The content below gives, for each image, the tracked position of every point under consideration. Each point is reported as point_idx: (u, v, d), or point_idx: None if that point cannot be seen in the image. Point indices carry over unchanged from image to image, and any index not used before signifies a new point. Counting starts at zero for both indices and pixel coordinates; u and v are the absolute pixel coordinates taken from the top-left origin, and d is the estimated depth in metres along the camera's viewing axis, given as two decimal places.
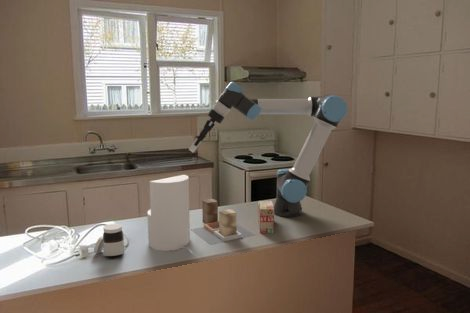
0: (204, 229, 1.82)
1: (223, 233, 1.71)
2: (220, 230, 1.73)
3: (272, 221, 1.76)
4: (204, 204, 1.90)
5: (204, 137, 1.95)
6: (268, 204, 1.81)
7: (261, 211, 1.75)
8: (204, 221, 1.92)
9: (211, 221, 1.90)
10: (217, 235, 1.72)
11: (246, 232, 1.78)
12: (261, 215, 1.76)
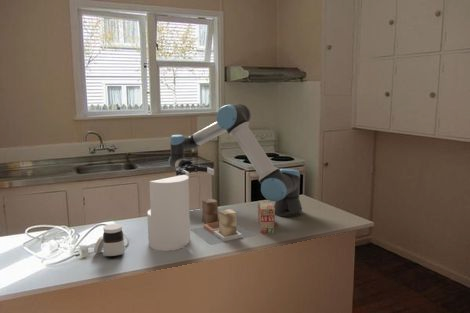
0: (204, 229, 1.82)
1: (223, 233, 1.71)
2: (220, 230, 1.73)
3: (273, 221, 1.77)
4: (204, 204, 1.90)
5: (208, 166, 2.06)
6: (268, 204, 1.82)
7: (262, 211, 1.76)
8: (204, 221, 1.92)
9: (211, 221, 1.90)
10: (217, 235, 1.72)
11: (246, 232, 1.78)
12: (262, 215, 1.76)
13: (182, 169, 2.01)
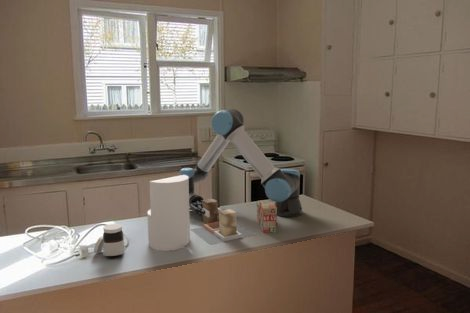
0: (204, 229, 1.82)
1: (223, 233, 1.71)
2: (220, 230, 1.73)
3: (275, 220, 1.78)
4: (204, 204, 1.90)
5: None
6: (269, 203, 1.83)
7: (264, 210, 1.76)
8: (204, 221, 1.92)
9: (211, 221, 1.90)
10: (217, 235, 1.72)
11: (246, 232, 1.78)
12: (264, 214, 1.77)
13: (200, 207, 1.94)
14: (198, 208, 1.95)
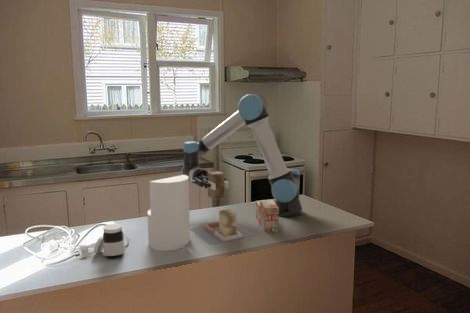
0: (204, 229, 1.82)
1: (223, 233, 1.71)
2: (220, 230, 1.73)
3: (277, 219, 1.78)
4: (210, 176, 1.78)
5: None
6: (270, 203, 1.83)
7: (266, 210, 1.77)
8: (209, 195, 1.79)
9: (217, 194, 1.77)
10: (217, 235, 1.72)
11: (246, 232, 1.78)
12: (266, 214, 1.77)
13: (205, 180, 1.81)
14: (203, 181, 1.82)
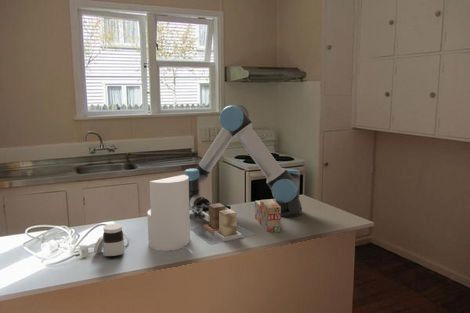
0: (204, 229, 1.82)
1: (223, 233, 1.71)
2: (220, 230, 1.73)
3: (279, 219, 1.79)
4: (211, 209, 1.80)
5: (226, 206, 1.87)
6: (272, 202, 1.84)
7: (269, 210, 1.77)
8: None
9: (218, 227, 1.80)
10: (217, 235, 1.72)
11: (246, 232, 1.78)
12: (268, 213, 1.78)
13: (200, 210, 1.83)
14: None
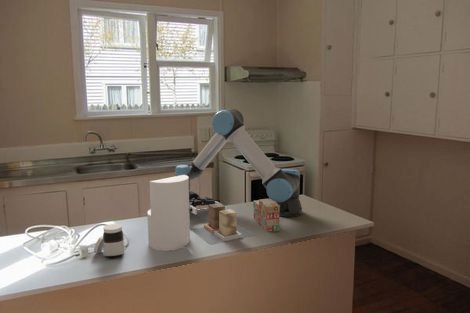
0: (204, 229, 1.82)
1: (223, 233, 1.71)
2: (220, 230, 1.73)
3: (278, 217, 1.80)
4: (211, 209, 1.80)
5: (216, 200, 1.97)
6: (270, 201, 1.85)
7: (267, 208, 1.78)
8: None
9: (218, 227, 1.80)
10: (217, 235, 1.72)
11: (246, 232, 1.78)
12: (267, 212, 1.78)
13: (189, 204, 1.92)
14: None
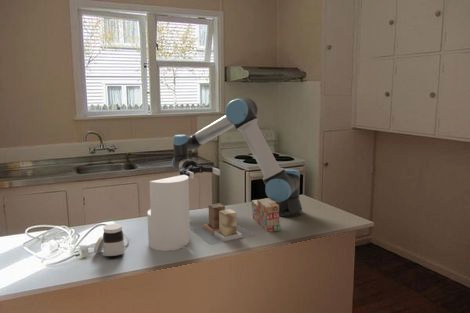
0: (204, 229, 1.82)
1: (223, 233, 1.71)
2: (220, 230, 1.73)
3: (278, 217, 1.80)
4: (211, 209, 1.80)
5: (213, 166, 1.96)
6: (269, 201, 1.84)
7: (267, 209, 1.78)
8: None
9: (218, 227, 1.80)
10: (217, 235, 1.72)
11: (246, 232, 1.78)
12: (267, 213, 1.78)
13: (186, 170, 1.91)
14: None
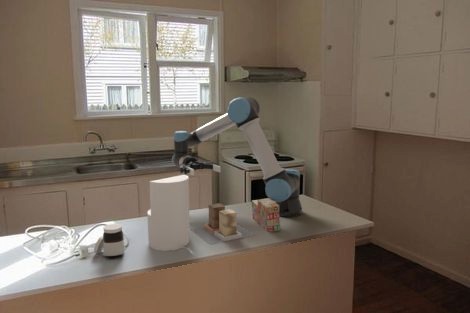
0: (204, 229, 1.82)
1: (223, 233, 1.71)
2: (220, 230, 1.73)
3: (278, 217, 1.80)
4: (211, 209, 1.80)
5: (214, 163, 1.96)
6: (269, 201, 1.84)
7: (267, 209, 1.78)
8: None
9: (218, 227, 1.80)
10: (217, 235, 1.72)
11: (246, 232, 1.78)
12: (267, 213, 1.78)
13: (186, 166, 1.91)
14: None
